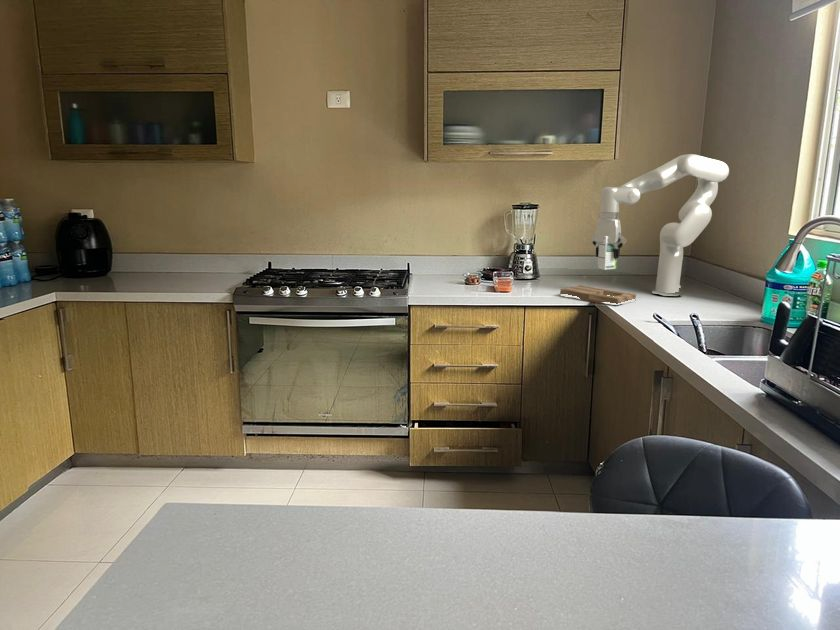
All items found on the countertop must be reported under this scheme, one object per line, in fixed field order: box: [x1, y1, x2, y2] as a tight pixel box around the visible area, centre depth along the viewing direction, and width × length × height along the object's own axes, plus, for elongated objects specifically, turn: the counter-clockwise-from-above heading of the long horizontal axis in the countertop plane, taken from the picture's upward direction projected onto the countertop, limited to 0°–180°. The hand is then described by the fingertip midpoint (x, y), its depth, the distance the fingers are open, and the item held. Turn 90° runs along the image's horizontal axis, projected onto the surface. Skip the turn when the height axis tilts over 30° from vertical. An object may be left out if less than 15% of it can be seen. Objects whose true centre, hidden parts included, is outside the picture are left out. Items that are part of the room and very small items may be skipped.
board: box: [559, 284, 637, 305], centre depth 258 cm, size 16×26×3 cm, turn 45°
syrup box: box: [597, 236, 618, 271], centre depth 267 cm, size 6×6×14 cm
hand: (607, 257), depth 267 cm, fingers closed on syrup box, 7 cm apart
